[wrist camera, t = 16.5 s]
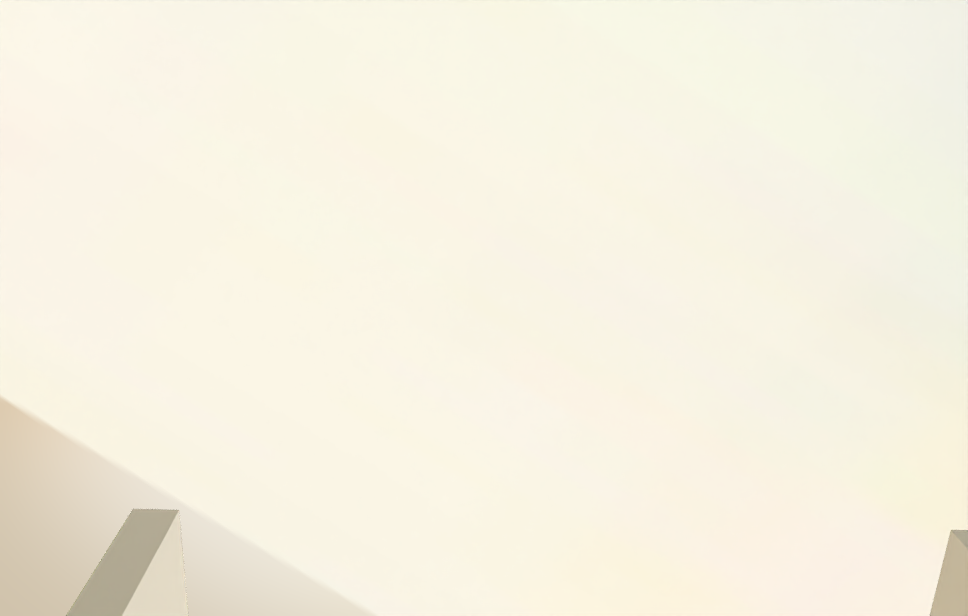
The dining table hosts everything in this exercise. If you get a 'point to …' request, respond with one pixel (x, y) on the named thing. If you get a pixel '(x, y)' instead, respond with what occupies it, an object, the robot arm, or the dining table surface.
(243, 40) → the dining table surface
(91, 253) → the dining table surface
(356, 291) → the dining table surface
